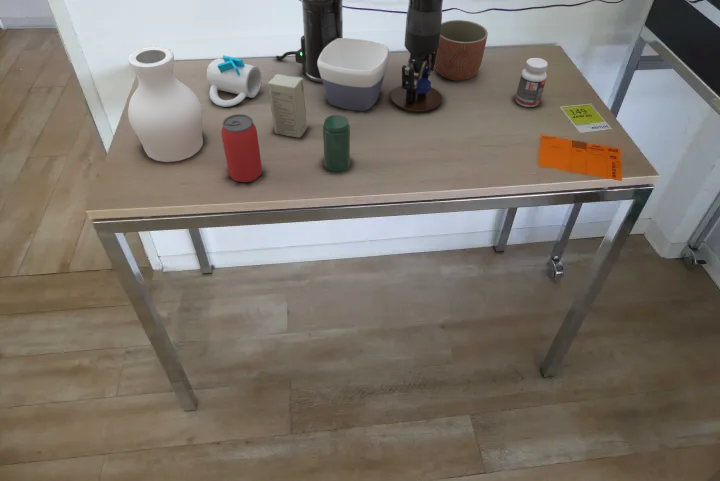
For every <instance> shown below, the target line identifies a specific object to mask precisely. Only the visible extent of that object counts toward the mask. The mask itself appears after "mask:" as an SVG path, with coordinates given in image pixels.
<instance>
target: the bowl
mask: <svg viewBox="0 0 720 481" xmlns="http://www.w3.org/2000/svg"><path fill="white" fill-rule="evenodd" d="M390 58H391V51H390V48H389V47H388V46H387V45H384V44H381V43H379V42H375V41H371V40H365V39H361V38H360V39H359V38H350V37H349V38H348V37H343V38H338V39H336V40H334V41H332V42H331V43H329V44H328V45H327V46H326V47H325V48H324V49H323V51H322V52H321V54H320V56H319V58H318V61H317V65H318V69H319V72H320V76H321V78H322V82H323V83H322V85H323V88H324V92H325V95H326V99H327V102H328V104H330V105H332V106H334V107H337V108H340V109H343V110H349V111H359V112H363V111H367V110H370V109H371V108H372V107H373V106H374V105H375V104H376V103H377V101H378V99H379V96H380V92H381V89H382V85H383V83H384V82H383V81H384V79H385V75H386V72H387V68H388V65H389V61H390Z"/></svg>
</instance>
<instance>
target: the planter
mask: <svg viewBox="0 0 720 481" xmlns="http://www.w3.org/2000/svg"><path fill="white" fill-rule="evenodd" d="M488 36H489V32H488V30H487V29H486V27H484V26H483V25H482V24H479V23H477V22H474V21H470V20H464V19H463V20H462V19H452V20H447V21H444V22H441V31H440V39H439V47H438V49H437V53H436V59H435V65H434V70H435V71H436V72H437V74H438V75H439V76H441V77H443V78H445V79H447V80H450V81H465V80H469V79H471V78H473V77H474V76H477V74H478V73H479V71H480V69H481V66H482V62H483V58H484V53H485V50H486V44H487V41H488V40H487V39H488Z"/></svg>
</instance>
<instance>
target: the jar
mask: <svg viewBox="0 0 720 481" xmlns="http://www.w3.org/2000/svg"><path fill="white" fill-rule="evenodd" d="M322 137H323V139H322V141H323V159H324V160H323V164H324V168H325V169H326V170H328V171H330V172H333V173H340V172H345V171H346V170H348V169H349V167H350V166H351V165H350V164H351V125H350V124H349V119H348V118H347V117H346V116H344V115H341V114H333V115H329V116H327V117H326V118H325V119H324V122H323V125H322Z"/></svg>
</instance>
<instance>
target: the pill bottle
mask: <svg viewBox="0 0 720 481" xmlns="http://www.w3.org/2000/svg"><path fill="white" fill-rule="evenodd" d="M547 70H548V62H547V60H545V59H543V58H540V57H531V58H528V59H527V60H526V63H525V68H524V69H522V71H521V72H520V73H521V74H520V78H519V81H518V86H517V89H516V90H517V91H516V94H515V101H516V103H517V104H518V105H520V106H522V107H525V108H534V107H537V106H538V105H539V104H540V102H541V100H542V95H543V93H544V92H543V91H544V89H545V84H546V81H547V77H548V74H547V72H546V71H547Z"/></svg>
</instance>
